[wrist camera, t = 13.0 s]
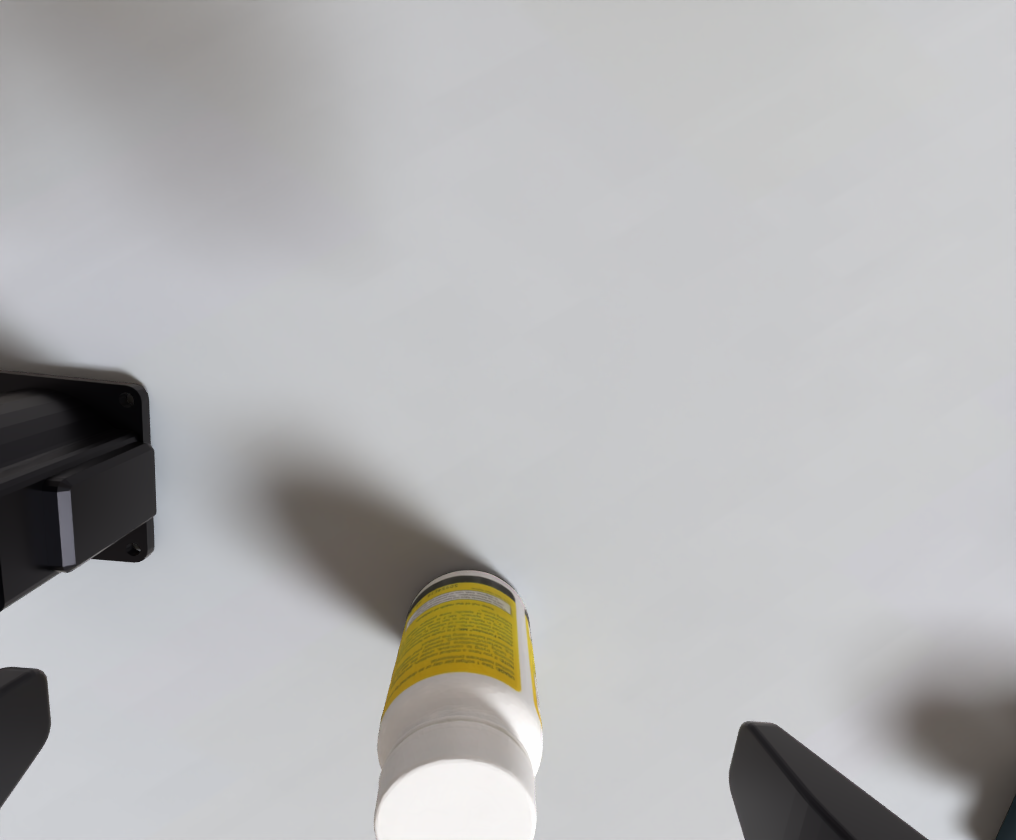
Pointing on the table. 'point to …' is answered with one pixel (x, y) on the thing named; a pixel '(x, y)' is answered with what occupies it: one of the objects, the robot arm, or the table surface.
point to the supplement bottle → (461, 717)
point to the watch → (1009, 824)
